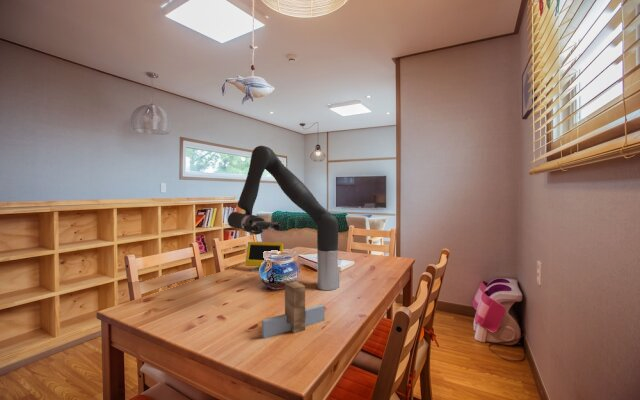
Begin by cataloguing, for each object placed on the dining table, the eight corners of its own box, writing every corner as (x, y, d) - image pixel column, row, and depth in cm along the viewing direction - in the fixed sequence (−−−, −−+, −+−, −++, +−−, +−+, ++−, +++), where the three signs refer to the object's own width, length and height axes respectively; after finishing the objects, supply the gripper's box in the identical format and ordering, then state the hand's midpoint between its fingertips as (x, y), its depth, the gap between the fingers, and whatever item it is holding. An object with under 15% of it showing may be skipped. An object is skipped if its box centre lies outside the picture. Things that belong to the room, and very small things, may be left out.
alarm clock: (244, 271, 163) (244, 242, 163) (250, 267, 171) (250, 240, 170) (280, 273, 160) (280, 243, 159) (284, 269, 167) (284, 241, 167)
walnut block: (295, 322, 101) (295, 281, 100) (305, 329, 96) (305, 286, 95) (284, 325, 98) (284, 283, 98) (294, 333, 93) (294, 288, 93)
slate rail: (321, 318, 104) (321, 304, 104) (324, 320, 102) (324, 305, 102) (262, 336, 91) (261, 319, 91) (264, 338, 90) (264, 321, 90)
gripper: (236, 216, 121) (251, 219, 108) (268, 214, 129) (286, 217, 116) (236, 234, 121) (251, 240, 108) (269, 231, 129) (286, 236, 116)
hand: (269, 228), depth 112 cm, fingers open, 8 cm apart
